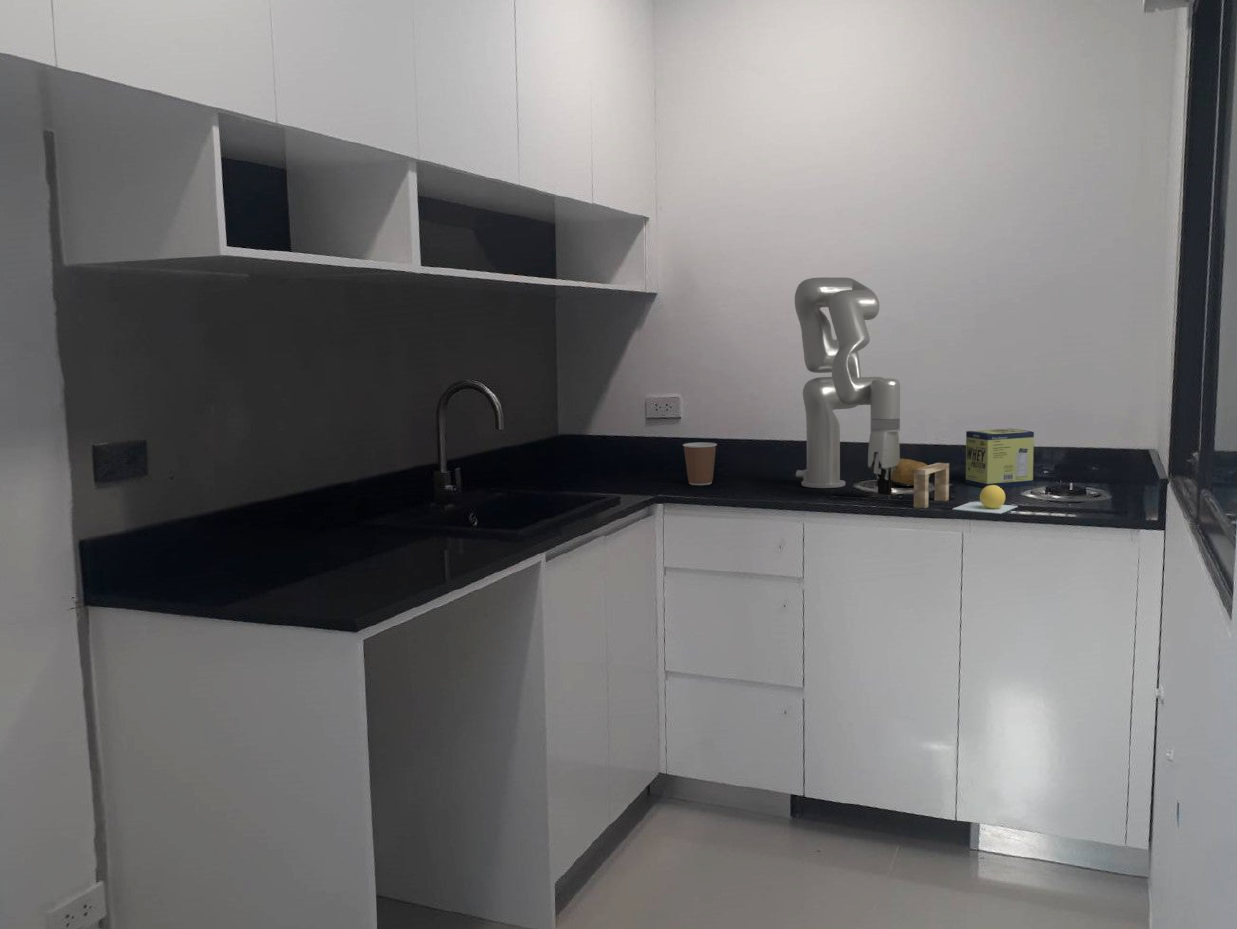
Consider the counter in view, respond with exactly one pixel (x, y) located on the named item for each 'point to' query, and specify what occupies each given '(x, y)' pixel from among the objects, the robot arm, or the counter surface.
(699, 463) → the coffee cup
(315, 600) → the counter surface
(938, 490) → the bridge
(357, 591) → the counter surface
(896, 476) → the potato
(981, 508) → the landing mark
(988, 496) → the ball
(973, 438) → the protein box
